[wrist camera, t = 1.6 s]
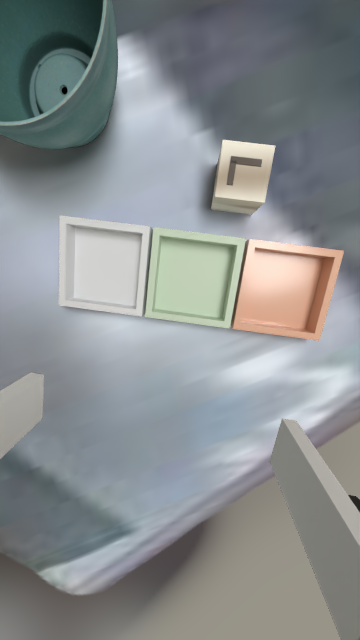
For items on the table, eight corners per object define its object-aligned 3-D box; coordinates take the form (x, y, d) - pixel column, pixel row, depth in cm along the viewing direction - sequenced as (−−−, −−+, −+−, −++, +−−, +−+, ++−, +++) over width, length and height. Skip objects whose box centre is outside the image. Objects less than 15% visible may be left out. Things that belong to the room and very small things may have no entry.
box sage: (156, 230, 28) (153, 227, 26) (241, 241, 28) (245, 238, 26) (148, 313, 31) (145, 316, 28) (226, 323, 30) (229, 328, 28)
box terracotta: (244, 241, 28) (249, 239, 26) (330, 252, 28) (344, 250, 25) (229, 324, 30) (232, 328, 28) (309, 335, 30) (319, 340, 28)
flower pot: (164, 53, 25) (142, -111, 14) (112, 202, 28) (63, 161, 17) (24, -17, 24) (-110, -246, 13) (-12, 144, 27) (-140, 65, 17)
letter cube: (217, 163, 27) (223, 139, 22) (260, 168, 26) (276, 145, 21) (210, 209, 28) (214, 196, 23) (252, 214, 28) (265, 202, 23)
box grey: (70, 220, 29) (59, 215, 26) (153, 230, 28) (150, 226, 26) (69, 302, 31) (58, 305, 29) (145, 312, 31) (141, 316, 28)
